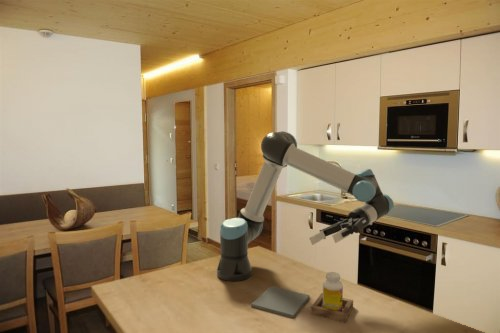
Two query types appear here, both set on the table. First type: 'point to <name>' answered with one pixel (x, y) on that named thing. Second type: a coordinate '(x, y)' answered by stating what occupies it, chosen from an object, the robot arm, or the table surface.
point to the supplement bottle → (332, 292)
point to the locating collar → (332, 314)
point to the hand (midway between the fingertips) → (322, 240)
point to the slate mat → (281, 301)
